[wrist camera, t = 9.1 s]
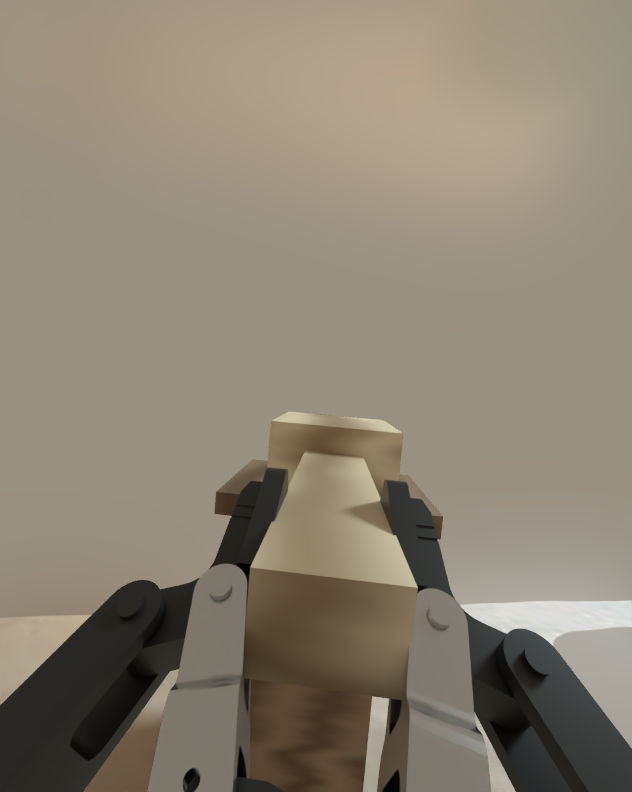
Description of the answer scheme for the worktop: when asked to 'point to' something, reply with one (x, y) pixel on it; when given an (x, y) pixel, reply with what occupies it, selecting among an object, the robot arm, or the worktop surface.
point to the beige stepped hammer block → (331, 563)
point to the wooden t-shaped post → (306, 705)
